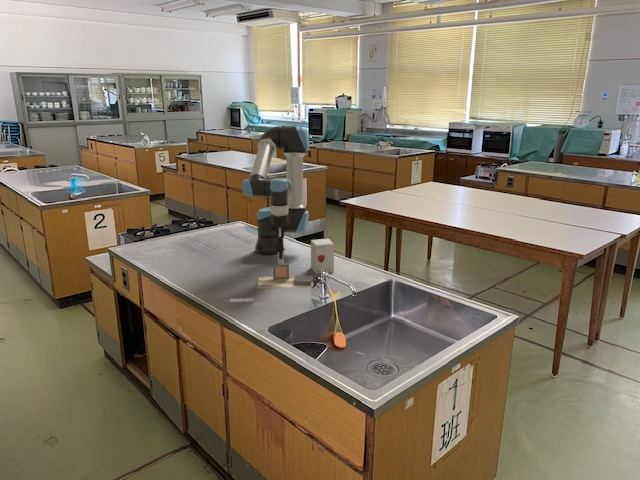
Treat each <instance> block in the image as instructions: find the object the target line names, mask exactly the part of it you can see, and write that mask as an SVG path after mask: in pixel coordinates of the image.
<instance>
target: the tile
mask: <svg viewBox="0 0 640 480" xmlns="http://www.w3.org/2000/svg"><path fill="white" fill-rule="evenodd" d="M272 276H273V280H278V279H289V276H290V263H289V262H286V263H285V262H284V263H279V264H278V263H272Z"/></svg>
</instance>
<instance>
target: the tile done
mask: <svg viewBox="0 0 640 480" xmlns="http://www.w3.org/2000/svg"><path fill="white" fill-rule="evenodd" d="M311 275H312V274H311ZM311 275H310V274H307V275H305V274H303V276H301V275H294V276H295V285H306V284H311Z"/></svg>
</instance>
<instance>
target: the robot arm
mask: <svg viewBox="0 0 640 480" xmlns="http://www.w3.org/2000/svg"><path fill="white" fill-rule="evenodd" d="M309 149H310V139H309V133H308V130H307V128H306V127H305V126H298V125H297V126H296V125H295V126H273V127H270V128H269V129H268V130H266V131H265V132H263V134H262V135H261V136H260V138H259V139H258V142H257V153H256V156H255V159H254V162H253V166H252V169H251V173H250V176H249V178H247V179H244V180H243V181H242V183H241V185H242V187H241V190H242V194H243V195H244V196H249V197H270V206H268V207H267V206H266V207H263V208H260V209H259V210H257V213H256V222H257V223H256V224H257V240H256V243H255V246H254V250H255V251H254V252H255V253H256V254H258V255H262V256H263V255H264V256H273V255H274V256H275V255H277V264H279V263H285V252H284V251H286V248H284V246H285V245H284V238H285V233H288V234H289V233H291V234H293V233H294V234H303V233H305V232H306V230H307V228H308V224H309V222H308V221H309V218H310V217H309V216H310V215H309V214H310V212H309V210H307V209H306V208H307V207H306V206H305V204H304V157H305V156H306V154H307V151H309ZM277 150H279V151H280V150H281V151H283V152H282V153H283V155H284V156H285V158H286V159H285V161H286V164H285V166H286V167H285V168H286V169H285V170H286V171H285V172H286V173H285V174H286V178H281V177H279V178H278V177H276V178H272V179H267V178H268V174H269V170H270V166H271V164H272V163H271V162H272V158H273V155H274V154H275V153H276V151H277Z"/></svg>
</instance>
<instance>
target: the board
mask: <svg viewBox="0 0 640 480" xmlns="http://www.w3.org/2000/svg"><path fill="white" fill-rule="evenodd" d="M303 275H304V274H303ZM303 275H301V274H300V276H303ZM295 276H296V275H289V279H278V280H273V275H270V276H267V275H266V276H264V275H263V276H259V277H258V282H257V289H292V288H314V287H313V285H314V278H313V275H312V274H311V284H306V285H295Z"/></svg>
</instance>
